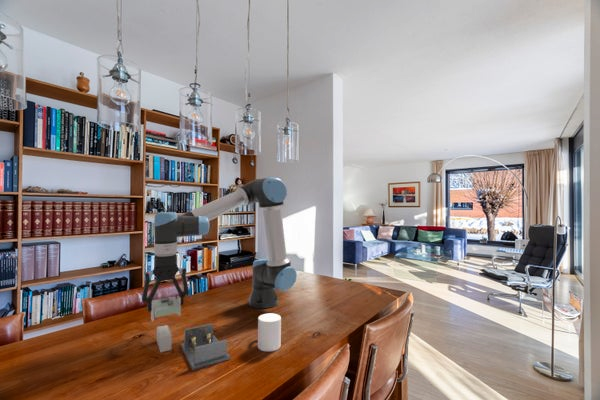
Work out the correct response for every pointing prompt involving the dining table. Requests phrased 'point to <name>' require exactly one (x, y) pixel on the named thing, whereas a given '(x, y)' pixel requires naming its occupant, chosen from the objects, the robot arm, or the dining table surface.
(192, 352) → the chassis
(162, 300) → the board
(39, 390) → the dining table surface
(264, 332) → the mug
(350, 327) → the dining table surface
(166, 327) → the stand
